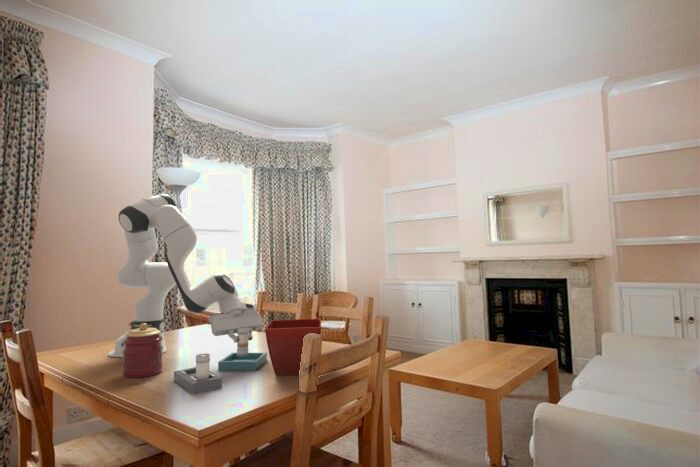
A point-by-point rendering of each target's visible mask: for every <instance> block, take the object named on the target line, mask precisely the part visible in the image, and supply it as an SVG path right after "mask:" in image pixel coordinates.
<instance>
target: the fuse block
mask: <svg viewBox="0 0 700 467" xmlns="http://www.w3.org/2000/svg"><path fill="white" fill-rule="evenodd" d="M173 381H174V382H176V383H177V384H178V385H180V386H181V387H183V388H184V389H185V390H187V392H189V393H191V394H192V395H195V394H200V393H204V392H209V391H213V390H216V389H217V390H218V389H221V388H223V377H222V376H220V375H218V374H217V373H214V372H212V371H211V370H209V379H205V380H200V381H197V379H196V366H195V367H190V368H183V369H179V370H174V371H173Z"/></svg>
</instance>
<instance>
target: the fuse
mask: <svg viewBox="0 0 700 467" xmlns="http://www.w3.org/2000/svg"><path fill="white" fill-rule="evenodd" d="M210 361H211V354H210V353H208V352H207V353H199V354H196V355H195V367H196V379H197V381H200V380H205V379H209V371H210Z"/></svg>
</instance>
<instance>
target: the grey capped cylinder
mask: <svg viewBox="0 0 700 467" xmlns="http://www.w3.org/2000/svg"><path fill="white" fill-rule="evenodd" d="M236 334H237V336H238V337H239V342H236V353H237V356H247V355H248V353H249V341H248V336H249V328H247V327H244V328H238V331H237V333H236Z"/></svg>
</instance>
